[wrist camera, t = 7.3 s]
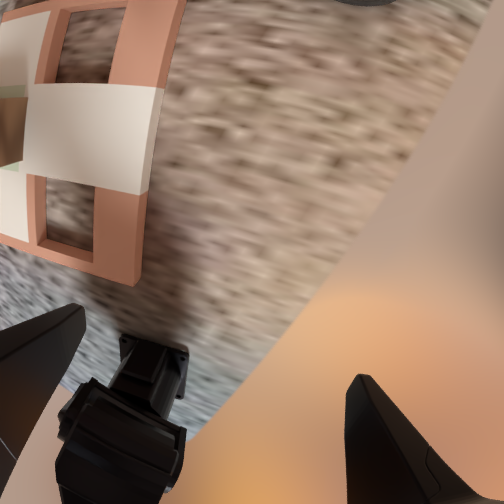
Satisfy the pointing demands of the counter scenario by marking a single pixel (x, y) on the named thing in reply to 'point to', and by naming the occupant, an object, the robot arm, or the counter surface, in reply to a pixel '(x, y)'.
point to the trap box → (86, 130)
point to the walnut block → (12, 129)
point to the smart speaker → (366, 2)
